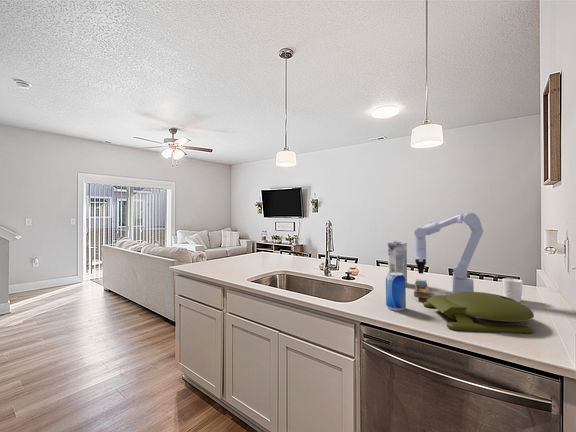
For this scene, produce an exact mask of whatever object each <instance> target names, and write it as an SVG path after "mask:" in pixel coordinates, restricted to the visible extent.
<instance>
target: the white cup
mask: <svg viewBox="0 0 576 432" xmlns="http://www.w3.org/2000/svg"><path fill="white" fill-rule="evenodd" d="M501 282H502V293H503V296H504V297H507V298H510V299H513V300H515V301H516V302H519V303H521V302H522V296H523V295H522V294H523V280H522V279H518V278H509V277H505V278H502V280H501Z"/></svg>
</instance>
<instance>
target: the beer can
mask: <svg viewBox="0 0 576 432" xmlns="http://www.w3.org/2000/svg"><path fill="white" fill-rule="evenodd" d="M406 284H407V283H406V280H405V277H404V276H403V273H399V272H389V273H388V272H387V275H386V277H385V306H386V307H387V309H389V310H390V311H395V312H402V311H404V310H405V309H406V306H407V301H406V300H407V298H406V297H407V295H406V294H407V293H406V292H407V291H406V286H407V285H406Z"/></svg>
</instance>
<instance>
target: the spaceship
mask: <svg viewBox="0 0 576 432" xmlns="http://www.w3.org/2000/svg"><path fill="white" fill-rule="evenodd" d="M422 306H424V307H425V308H430V309H437V310H438V311H440V313H441V314H443V315H444V316H446V317H447V318H449V319H450V320H456V321H449V322H447V323H446V327H447V328H448V329H450V330H452V331H458V332H459V331H461V332H483V333H504V334H505V333H507V334H527V335H528V334H533V333H534V332H535V329H534V328H533V327H532V326H530V325H526V324H517V323H518V322H525V321H530V320H532V319H534V316H535V314H534V311H532V309H531V308H529V307H528V306H527V305H526V304H524V303H521V302H516V301H515V300H513V299H510V298H507V297H504V295H499V294H494V293H490V292H481V291H474V292H458V293H453V294H452V293H451V294H433V295H432V296H429V298H426V301H424V302H423V303H422ZM475 318H477V319H481V320H482V319H484V320H490V321H498V322H499V321H500V322H517V323H516V324H515V323H514V324H513V323H511V324H510V323H491V322H490V323H487V322H485V323H483V322H474V321H473V319H475Z"/></svg>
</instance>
